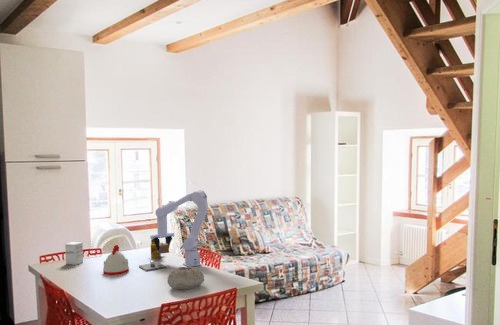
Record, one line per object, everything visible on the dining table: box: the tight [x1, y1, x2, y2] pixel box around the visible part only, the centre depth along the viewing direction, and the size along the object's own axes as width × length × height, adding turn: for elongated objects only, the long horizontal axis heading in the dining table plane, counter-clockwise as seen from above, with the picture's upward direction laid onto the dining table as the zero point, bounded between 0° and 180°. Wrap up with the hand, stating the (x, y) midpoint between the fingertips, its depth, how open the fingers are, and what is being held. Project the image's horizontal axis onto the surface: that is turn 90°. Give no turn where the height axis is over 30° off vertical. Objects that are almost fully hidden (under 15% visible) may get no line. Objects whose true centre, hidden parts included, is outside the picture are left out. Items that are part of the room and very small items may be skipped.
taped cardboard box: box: [157, 242, 170, 255], centre depth 268 cm, size 5×5×6 cm
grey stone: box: [167, 266, 205, 291], centre depth 218 cm, size 18×18×10 cm
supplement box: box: [64, 241, 84, 266], centre depth 275 cm, size 7×7×13 cm
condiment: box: [148, 239, 166, 260], centre depth 284 cm, size 7×8×12 cm
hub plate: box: [138, 259, 167, 272], centre depth 260 cm, size 12×12×4 cm
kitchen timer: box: [102, 244, 130, 276], centre depth 252 cm, size 14×14×15 cm
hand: (162, 249), depth 268 cm, fingers closed on taped cardboard box, 5 cm apart
